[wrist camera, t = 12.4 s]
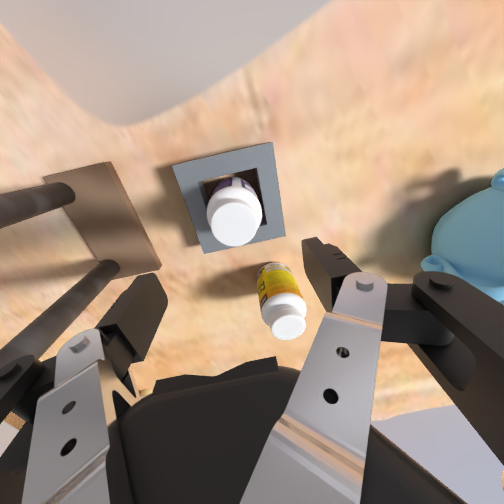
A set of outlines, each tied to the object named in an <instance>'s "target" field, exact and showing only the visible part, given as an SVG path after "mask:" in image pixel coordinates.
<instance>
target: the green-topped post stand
mask: <svg viewBox="0 0 504 504" xmlns="http://www.w3.org/2000/svg"><path fill="white" fill-rule="evenodd" d="M43 178H44V179H45V181H46V182H47V185H42V186H38V187H33V188H28V189H23V190H18V191H14V192H9V193H4V194H0V229H1V228H3V227H6V226H9V225H12V224H15V223H17V222H20V221H23V220H26V219H29V218H32V217H34V216H37V215H40V214H43V213H46V212H48V211H51V210H54V209H57V208H60V207H63V208H64V209H65V211H66V212H67V214H68V215H69V217H70V218H71V220H72V221H73V223H74V224H75V226H76V227H77V229H78V231H79V232H80V234H81V235H82V237H83V238H84V240H85V241H86V243H87V244H88V246H89V247H90V249H91V250H92V252H93V253H94V255H95V256H96V258H97V259H98V261H99V262H100V264H98V265H97V266H96V267H95V268H94V269H93V270H91V271H90V272H89V273H88V274H87V275H86V276H85V277H83V278H82V279H81V280H80V281H79V282H78V283H77V284H75V285H74V286H73V287H72V288H71V289H70V290H68V291H67V292H66V293H65V294H64V295H63V296H62V297H60V298H59V299H58V300H57V301H56V302H55V303H54V304H52V305H51V306H50V307H49V308H48V309H47V310H45V311H44V312H43V313H42V314H41V315H40V316H39V317H37V318H36V319H35V320H34V321H33V322H32V323H31V324H29V325H28V326H27V327H26V328H25V329H24V330H22V331H21V332H20V333H19V334H18V335H17V336H16V337H14V338H13V339H12V340H11V341H10V342H9V343H8V344H6V345H5V346H4V347H3V348H2V349H1V350H0V369H1V368H2V367H4V366H5V365H7V364H8V363H10V362H12V361H13V360H15V359H17V358H19V357H22V356H25V355H34V356H35V357H36V358H37V359H39V358H40V357H41V356H42V355H43V354H44V353H45V351H46V350H47V349H48V348H49V347H50V346H51V345H52V344H53V343H54V342H55V341H56V340H57V338H58V337H59V336H60V335H61V334H62V333H63V332H64V331H65V330H66V329H67V328H68V327H69V325H70V324H71V323H72V322H73V321H74V320H75V319H76V318H77V317H78V316H79V315H80V314H81V312H82V311H83V310H84V309H85V308H86V307H87V306H88V305H89V304H90V303H91V302H92V300H93V299H94V298H95V297H96V296H97V295H98V294H99V293H100V292H101V291H102V290H103V289H104V287H105V286H106V285H107V284H108V283H109V282H110V281H111V280H114V279H118V278H123V277H128V276H132V275H137V274H141V273H146V272H151V271H155V270H159V269H160V268H161V266H162V264H161V262H160V260H159V258H158V256H157V254H156V252H155V250H154V248H153V246H152V244H151V242H150V240H149V238H148V236H147V234H146V232H145V230H144V228H143V226H142V224H141V222H140V220H139V218H138V215H137V213H136V211H135V209H134V207H133V205H132V203H131V201H130V199H129V197H128V195H127V193H126V191H125V189H124V187H123V185H122V183H121V181H120V179H119V177H118V175H117V173H116V171H115V169H114V167H113V165H112V163H111V162H104V163H100V164H96V165H91V166H87V167H83V168H79V169H75V170H70V171H66V172H62V173H58V174H54V175H49V176H45V177H43Z"/></svg>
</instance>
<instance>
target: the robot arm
mask: <svg viewBox="0 0 504 504" xmlns="http://www.w3.org/2000/svg"><path fill="white" fill-rule="evenodd" d="M302 253H303V262H304V269H305V273H306V275H307V277H308V279H309V281H310V283H311V285H312V286H313V288H314V290H315V292H316V294H317V296H318V297H319V299H320V301H321V303H322V305H323V306H324V308H325V310H326V313H325V315H324V317H323V320H322V322H321V324H320V327H319V329H318V332H317V334H316V337H315V339H314V341H313V344H312V346H311V349H310V351H309V354H308V356H307V358H306V361H305V363H304V366H303V368H302V370H301V371H299V370H296V369H293V368H289V367H283V366H278V363H277V359H276V356H274V357H269V358H264V359H259V360H255V361H250V362H245V363H243V364H241V365H239V366H237V367H235V368H233V369H230V370H228V371H226V372H224V373H222V374H220V375H217V376H213V377H211V376H198V375H181V376H176V377H171V378H166V379H161V380H156V383H155V386H154V389H153V392H152V393H151V394H149V395H147V396H145V397H144V398H142V399H141V397H140V394H139V391H138V388H137V385H136V382H135V379H134V376H133V373H132V371H131V370H130V369H129V367H130V365H131V363H136V362H141V361H144V359H145V356H146V354H147V352H148V349H149V347H150V345H151V343H152V340H153V338H154V336H155V333H156V331H157V329H158V326H159V324H160V322H161V319H162V317H163V315H164V312H165V310H166V308H167V305H168V299H167V295H166V293H165V291H164V289H163V287H162V286H161V284H160V282H159V280H158V278H157V276H156V275H155V274H154V273H149V274H144V275H140V276H137V277H136V279H135V280H134V281H133V282H132V284H131V285H130V286H129V288H128V289H127V290H125V291H124V292H123V293H122V294H121V295H120V296H119V297H118V299H117V300H116V303H114V304H113V305H112V306H111V309H109V310H108V311H107V313H106V314H105V315H104V317H103V318H102V319H101V320H100V322H99V323H98V324H97V326H96V327H95V328H94V329H89V330H86V331H83V332H81V333H79V334H78V335H76V336H74V337H73V338H71V339H70V340H69V341H68V342H66V343H65V344H64V345H63V346H62V347H61V349H60V350H59V352H58V353H57V356H54V357H52V358H50V359H47V360H45V361H43V362H40V361H39V360H38V359H37V358H36V357H35V356H34V355H25V356H22V357H19V358H17V359H15V360H13V361H12V362H10V363H8V364H7V365H5V366H4V367H2V368H1V369H0V424H1V422H2V421H3V420H4V419H5V418H6V416H7V415H8V414H9V413H10V411H12V412H13V413H15V414H16V415H18V416H19V417H21V418H22V419H23V420H25V421H26V422H25V424H24V425H23V427H22V428H21V429H20V431H19V432H18V434H17V435H16V437H15V438H14V439H13V441H12V442H11V443H10V445H9V446H8V447H7V449H6V450H5V452H4V453H3V454H2V456H1V457H0V504H467V503H466V502H465V501H463V500H462V499H461V498H460V497H459V496H457V495H456V494H455V493H454V492H453V491H451V490H450V489H449V488H448V487H446V486H445V485H444V484H443V483H442V482H440V481H439V480H438V479H437V478H435V477H434V476H433V475H432V474H431V473H429V472H428V471H427V470H425V469H424V468H423V467H422V466H421V465H420V464H418V463H417V462H416V461H415V460H413V459H412V458H411V457H409V456H408V455H407V454H406V453H405V452H404V451H402V450H401V449H400V448H399V447H398V446H396V445H395V444H394V443H393V442H391V441H390V440H389V439H388V438H387V437H385V436H384V435H383V434H382V433H380V432H379V431H378V430H377V429H375V428H374V427H373V426H372V425H371V424H370V421H371V413H372V405H373V397H374V389H375V381H376V373H377V366H378V358H379V350H380V342H381V341H386V342H397V343H407V344H408V345H409V347H410V348H411V349H412V350H413V352H414V353H415V354H416V355H417V357H418V358H419V359H420V360H421V362H422V363H423V364H424V365H425V367H426V368H427V369H428V371H429V372H430V373H431V374H432V376H433V377H434V378H435V379H436V381H437V382H438V383H439V384H440V386H441V387H442V388H443V390H444V391H445V392H446V393H447V395H448V396H449V397H450V398H451V400H452V401H453V402H454V403H455V405H456V406H457V407H458V408H459V410H460V411H461V412H462V414H463V415H464V416H465V417H466V418H467V420H468V421H469V422H470V424H471V425H472V426H473V427H474V429H475V430H476V431H477V432H478V434H479V435H480V436H481V438H482V439H483V440H484V441H485V443H486V444H487V445H488V446H489V448H490V449H491V450H492V451H493V453H494V454H495V455H496V457H497V458H498V459H499V460H500V461H501V463H502V464H503V465H504V305H503V304H501V303H499V302H498V301H496V300H495V299H493V298H492V297H490V296H488V295H487V294H485V293H484V292H482V291H480V290H479V289H477V288H476V287H474V286H473V285H471V284H469V283H468V282H466V281H465V280H463V279H461V278H460V277H457V276H455V275H452V274H449V273H445V272H439V271H425V272H421V273H418V274H417V275H415V277H414V280H413V284H389V283H387V282H386V281H385V280H384V279H383V278H382V277H380V276H378V275H376V274H373V273H368V272H362V271H361V270H360V269H359V268H358V267H357V266H356V265H355V264H354V263H353V262H352V261H351V260H350V259H349V258H347V256H346V255H345V254H344V253H343V252H342V251H341V250H340V249H339V248H338V247H336V246H333V245H331V244H325V245H324V244H323V243H322V242H321V241H320V240H319V239H318V238H317V237H313V238H309V239H304V240H302ZM502 486H503V489H504V470H503V473H502Z"/></svg>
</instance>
